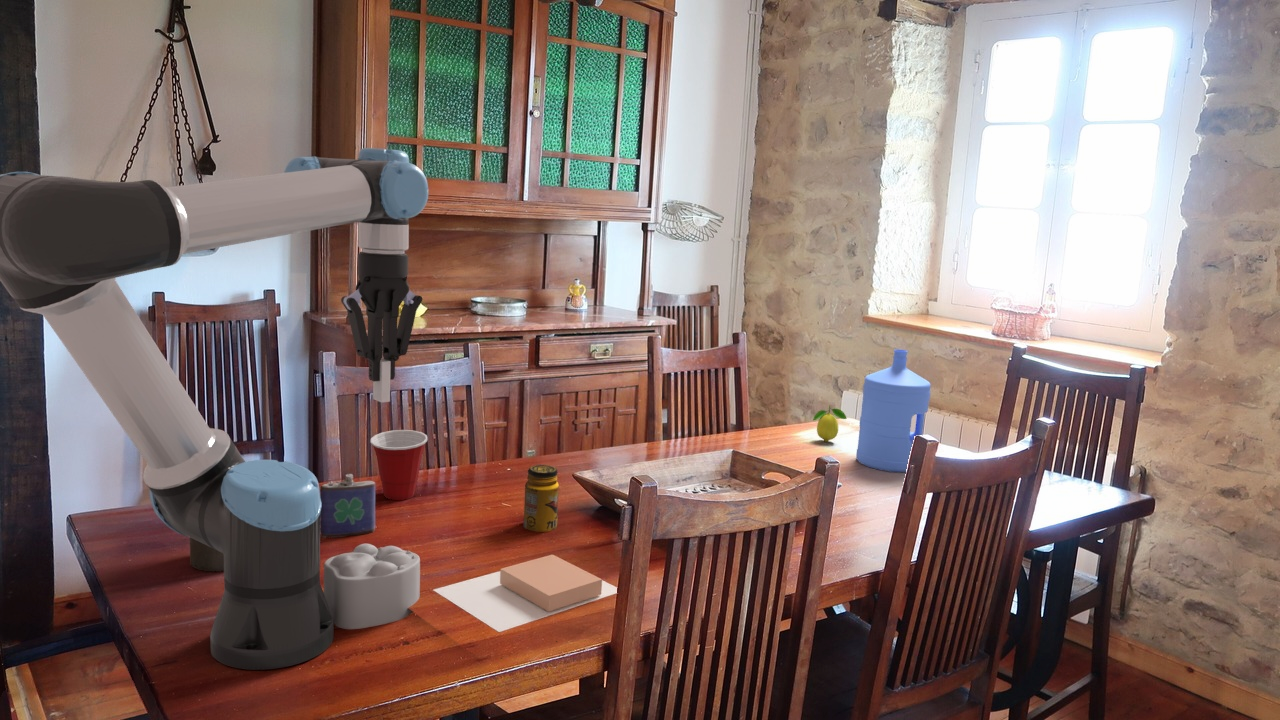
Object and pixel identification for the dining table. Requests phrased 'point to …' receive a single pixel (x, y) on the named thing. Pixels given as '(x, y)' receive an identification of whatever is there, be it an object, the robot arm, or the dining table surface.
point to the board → (503, 602)
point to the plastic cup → (399, 461)
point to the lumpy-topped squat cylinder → (371, 586)
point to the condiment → (541, 499)
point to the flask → (347, 508)
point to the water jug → (891, 415)
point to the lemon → (828, 423)
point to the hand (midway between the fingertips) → (381, 400)
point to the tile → (550, 582)
